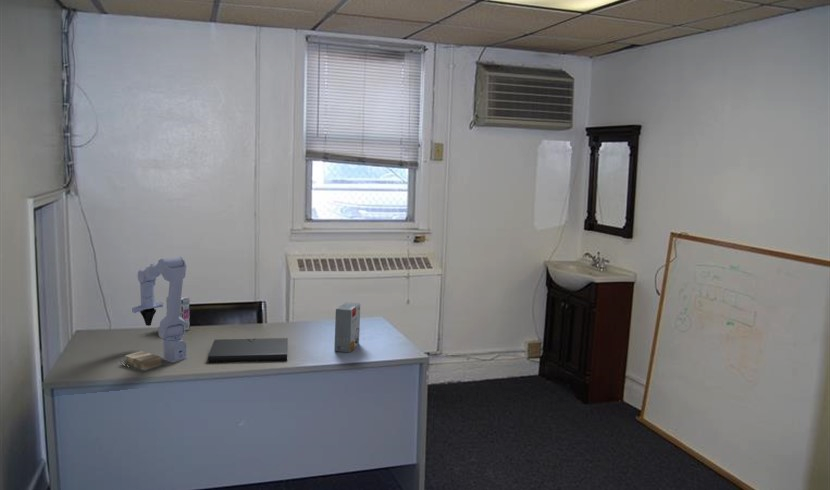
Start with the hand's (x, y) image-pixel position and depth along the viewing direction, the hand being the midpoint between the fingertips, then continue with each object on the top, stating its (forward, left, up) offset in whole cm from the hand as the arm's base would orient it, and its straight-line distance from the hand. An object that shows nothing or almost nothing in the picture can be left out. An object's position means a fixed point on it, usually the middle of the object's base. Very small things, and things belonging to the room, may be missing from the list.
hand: (148, 325), depth 296 cm
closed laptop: (-43, -21, -11) cm, 49 cm away
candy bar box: (+13, -26, -10) cm, 31 cm away
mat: (-19, +17, -10) cm, 27 cm away
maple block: (-14, +17, -8) cm, 23 cm away
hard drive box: (-71, -55, -10) cm, 90 cm away
